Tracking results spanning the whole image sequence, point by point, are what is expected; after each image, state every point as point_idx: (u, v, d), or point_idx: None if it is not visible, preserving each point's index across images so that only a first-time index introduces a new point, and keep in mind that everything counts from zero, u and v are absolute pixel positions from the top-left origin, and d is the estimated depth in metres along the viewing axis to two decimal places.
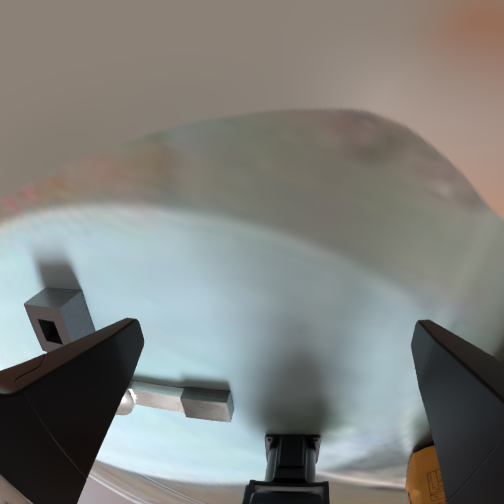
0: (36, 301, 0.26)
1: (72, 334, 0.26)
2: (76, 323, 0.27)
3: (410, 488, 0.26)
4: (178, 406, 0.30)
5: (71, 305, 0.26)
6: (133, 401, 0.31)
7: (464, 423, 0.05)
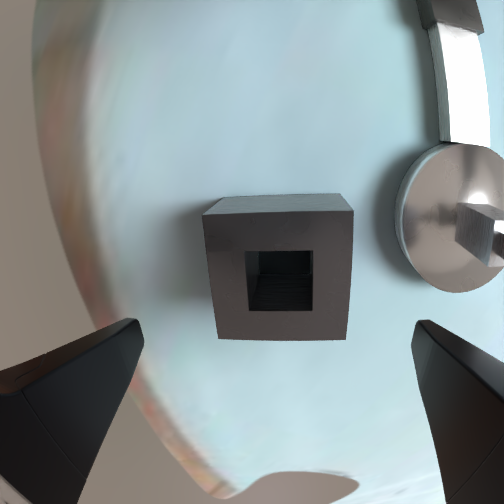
0: None
1: (281, 208, 0.12)
2: (268, 204, 0.13)
3: None
4: (465, 40, 0.10)
5: (225, 205, 0.14)
6: None
7: (464, 423, 0.05)
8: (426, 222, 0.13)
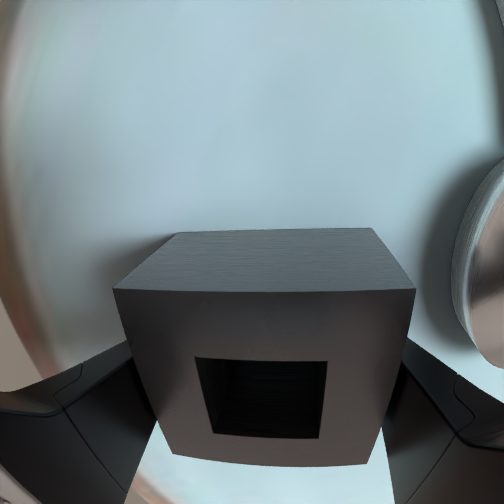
0: None
1: (267, 279, 0.06)
2: (244, 259, 0.07)
3: None
4: None
5: (168, 257, 0.08)
6: None
7: (410, 434, 0.05)
8: None
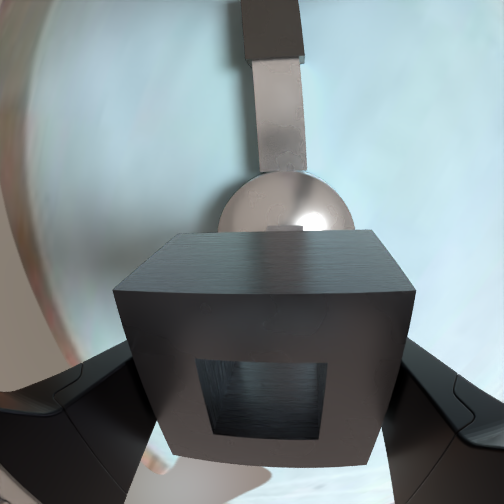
0: None
1: (267, 281, 0.06)
2: (244, 261, 0.07)
3: None
4: (282, 70, 0.15)
5: (168, 259, 0.08)
6: (296, 172, 0.16)
7: (410, 434, 0.05)
8: None
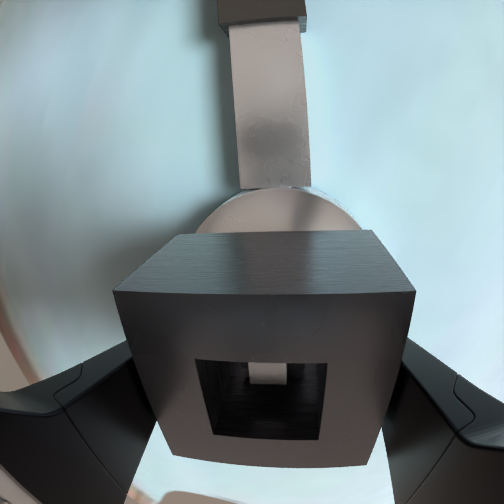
0: None
1: (267, 281, 0.06)
2: (244, 261, 0.07)
3: None
4: (274, 38, 0.09)
5: (168, 259, 0.08)
6: (295, 189, 0.11)
7: (410, 434, 0.05)
8: None
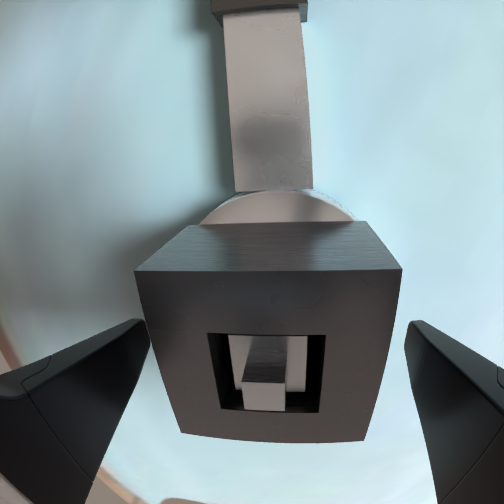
0: None
1: (272, 261, 0.07)
2: (251, 246, 0.08)
3: None
4: (272, 27, 0.08)
5: (182, 245, 0.08)
6: (296, 192, 0.10)
7: (455, 425, 0.05)
8: None
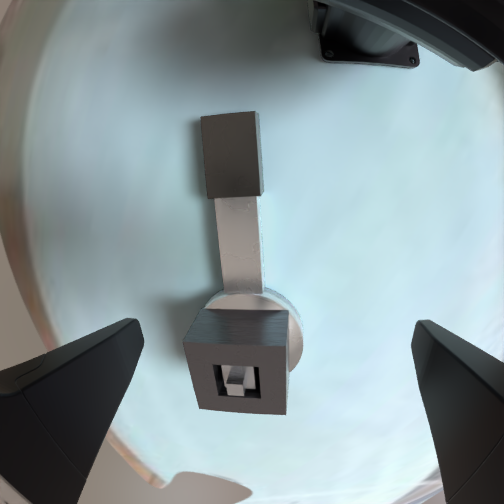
0: None
1: (237, 339, 0.17)
2: (230, 328, 0.18)
3: None
4: (241, 208, 0.19)
5: (200, 326, 0.19)
6: (254, 295, 0.20)
7: (464, 423, 0.05)
8: None
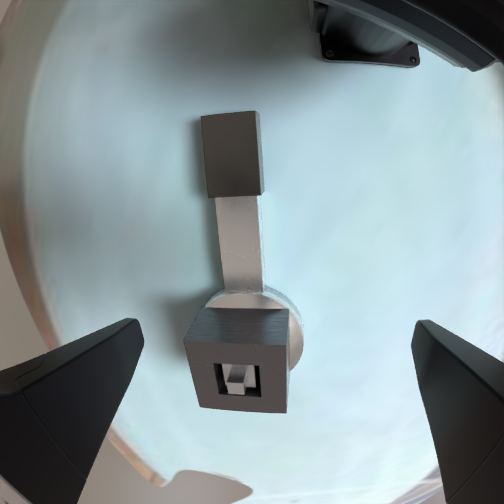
0: None
1: (237, 338, 0.17)
2: (231, 327, 0.19)
3: None
4: (242, 207, 0.19)
5: (201, 324, 0.19)
6: (254, 294, 0.21)
7: (464, 423, 0.05)
8: None
